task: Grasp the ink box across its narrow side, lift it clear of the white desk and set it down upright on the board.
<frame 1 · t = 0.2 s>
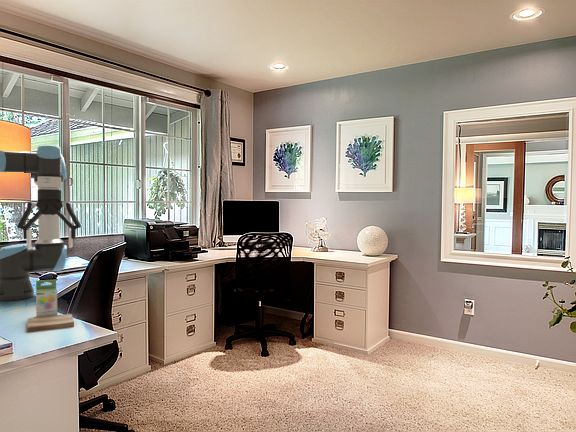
hand: (50, 247, 156), 27 cm above the table, fingers open, 13 cm apart
board: (50, 324, 153), on the table
ink box: (46, 316, 164), on the table
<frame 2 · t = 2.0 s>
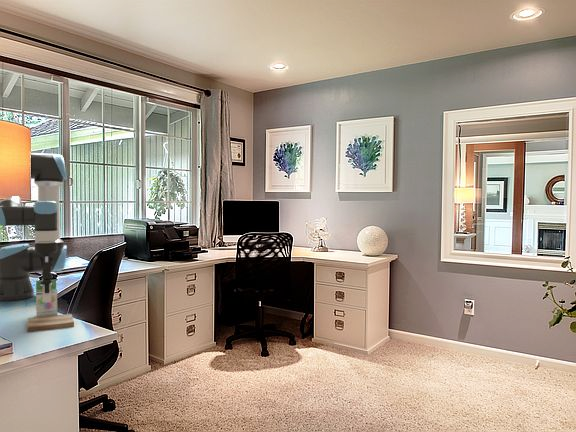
hand: (46, 298, 163), 7 cm above the table, fingers open, 13 cm apart
nothing on the table moved.
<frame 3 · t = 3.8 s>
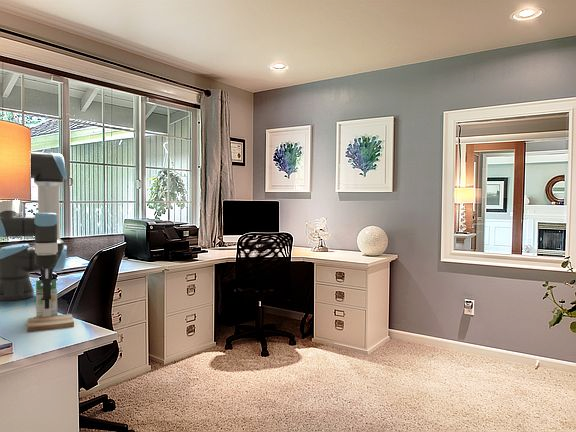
hand: (46, 315, 164), 0 cm above the table, fingers closed on ink box, 4 cm apart
ink box: (46, 316, 164), on the table, touching gripper
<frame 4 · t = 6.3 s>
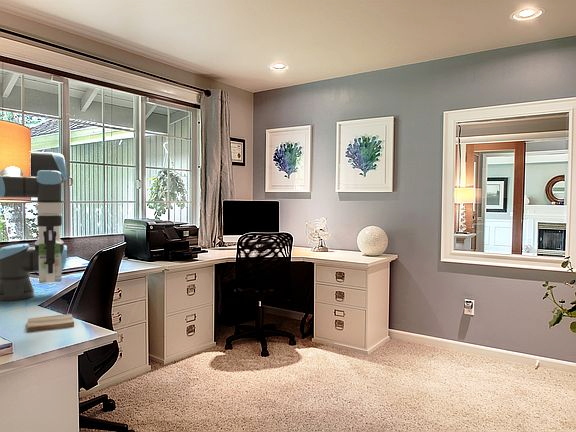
hand: (50, 281, 152), 15 cm above the table, fingers closed on ink box, 4 cm apart
ink box: (50, 282, 152), point 15 cm above the table, touching gripper
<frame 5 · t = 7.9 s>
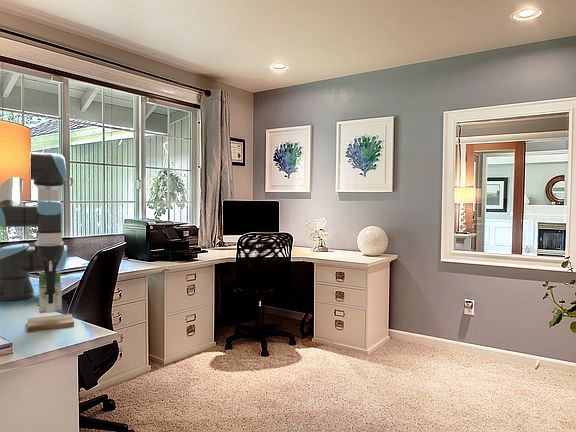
hand: (50, 310, 153), 5 cm above the table, fingers closed on ink box, 4 cm apart
ink box: (50, 311, 153), point 4 cm above the table, touching gripper
when the fingers open (2 cm above the table, at t = 9.1 s): ink box stays where it is, resting on board.
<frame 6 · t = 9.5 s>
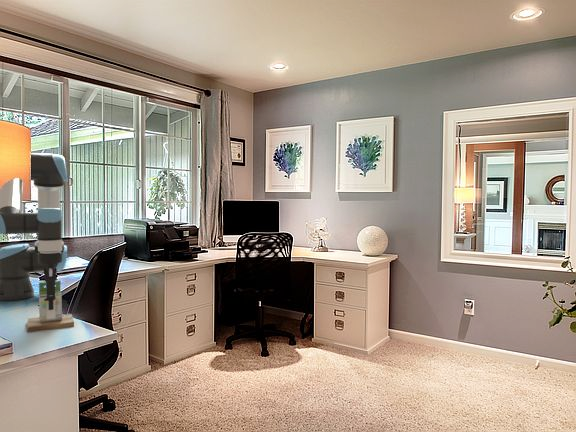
hand: (50, 315, 153), 3 cm above the table, fingers open, 9 cm apart
ink box: (50, 320, 153), point 1 cm above the table, touching board
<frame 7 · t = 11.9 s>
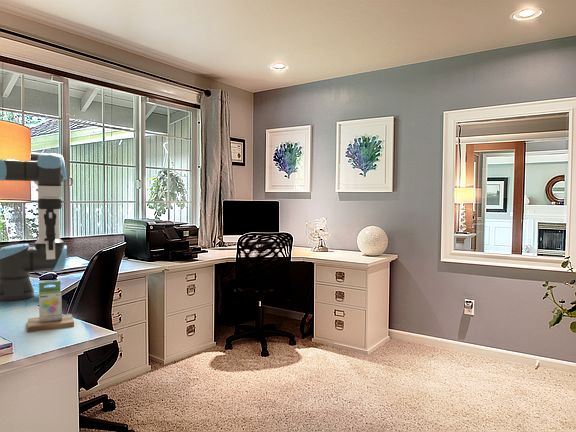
hand: (50, 256, 158), 23 cm above the table, fingers open, 13 cm apart
nothing on the table moved.
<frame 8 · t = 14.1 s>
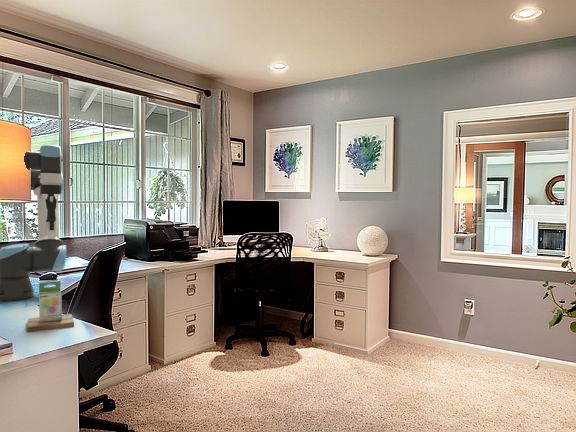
hand: (51, 237, 174), 29 cm above the table, fingers open, 13 cm apart
nothing on the table moved.
at the end: ink box inside the target area on the board (0.1 cm from its centre), point 1.3 cm above the board's base; ink box tilted 0°; the gripper is holding nothing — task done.
